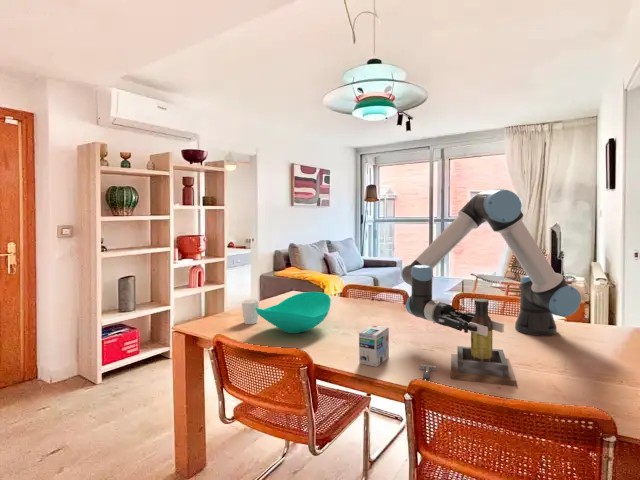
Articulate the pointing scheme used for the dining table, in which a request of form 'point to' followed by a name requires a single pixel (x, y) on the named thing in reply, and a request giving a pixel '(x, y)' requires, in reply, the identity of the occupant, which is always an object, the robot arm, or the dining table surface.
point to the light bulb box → (373, 345)
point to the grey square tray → (482, 368)
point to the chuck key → (427, 370)
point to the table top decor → (298, 312)
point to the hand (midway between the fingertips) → (494, 329)
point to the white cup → (250, 311)
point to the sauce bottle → (480, 343)
